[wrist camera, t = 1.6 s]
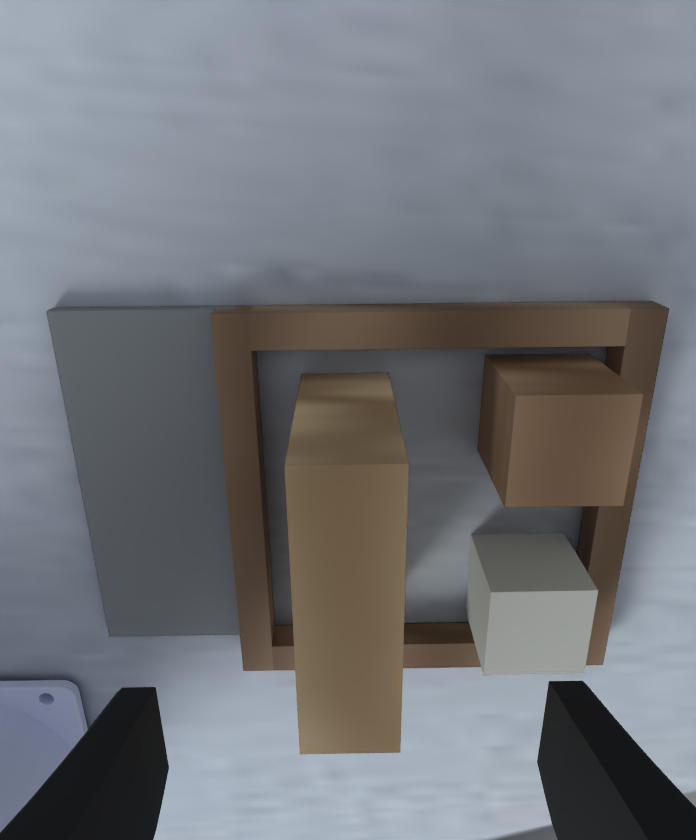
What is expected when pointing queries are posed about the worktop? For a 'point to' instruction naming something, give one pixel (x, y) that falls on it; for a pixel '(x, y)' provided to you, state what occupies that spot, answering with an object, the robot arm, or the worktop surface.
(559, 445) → the offcut dark
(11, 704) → the robot arm
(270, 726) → the worktop surface
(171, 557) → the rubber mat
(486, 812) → the worktop surface
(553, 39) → the worktop surface
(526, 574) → the offcut grey
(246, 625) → the frame
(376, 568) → the oak board
